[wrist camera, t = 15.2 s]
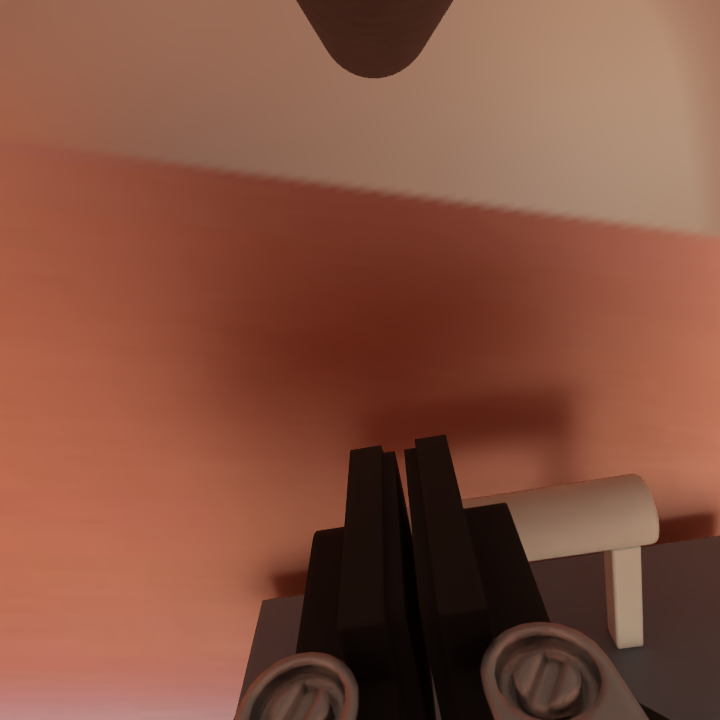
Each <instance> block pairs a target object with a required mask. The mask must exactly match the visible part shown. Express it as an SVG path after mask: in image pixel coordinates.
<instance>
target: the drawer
mask: <svg viewBox="0 0 720 720" xmlns="http://www.w3.org/2000/svg"><path fill="white" fill-rule="evenodd" d="M504 502H505V503H506V504H507V505H508V507H509V510H510V512H511V515H512V518H513V521H514V523H515V526H516V529H517V532H518V534H519V537H520V540H521V543H522V545H523V548H524V551H525V554H526V556H527V559H528V562H529V561H536V560H543V559H550V558H557V557H564V556H571V555H578V554H586V553H593V552H600V551H604V552H601V553H593V554H586V555H579V556H572V557H565V558H558V559H551V560H544V561H537V562H530V563H529V565H530V567H531V570H532V573H533V576H534V578H535V581H536V584H537V587H538V589H539V592H540V595H541V597H542V600H543V603H544V606H545V608H546V611H547V614H548V617H549V619H550V622H551V623H556V624H561V625H564V626H567V627H570V628H572V629H575V630H578V631H580V632H581V633H583V634H584V635H586V636H587V637H589V638H590V639H592V640H593V641H595V642H596V643H597V645H598V646H599V647H600V648H601V649H602V650H603V651H604V652H605V654H606V655H607V656H608V657H609V659H610V660H611V662H612V663H613V665H614V666H615V668H616V669H617V671H618V672H619V674H620V676H621V677H622V679H623V680H624V682H625V683H626V685H627V686H628V688H629V689H630V691H631V692H632V694H633V696H634V697H635V699H636V700H637V702H639V703H641V704H642V705H644V706H646V707H648V708H650V709H652V710H654V711H655V712H657V713H659V714H661V715H663V716H665V717H666V718H668V719H670V720H720V536H714V537H707V538H700V539H692V540H685V541H678V542H671V543H664V544H657V545H650V546H643V547H640V546H642V545H649V544H653V543H655V542H656V541H657V540H658V537H659V519H658V514H657V510H656V506H655V503H654V500H653V497H652V495H651V493H650V490H649V489H648V487H647V485H646V483H645V482H644V480H643V479H642V478H641V477H640V476H638V475H636V474H628V475H621V476H615V477H608V478H602V479H595V480H589V481H582V482H576V483H569V484H563V485H556V486H549V487H543V488H536V489H530V490H523V491H517V492H510V493H504V494H497V495H491V496H484V497H478V498H471V499H465V500H462V504H463V509H465V508H471V507H478V506H485V505H491V504H498V503H504ZM407 513H408V518H409V523H410V527H411V517H410V508H407ZM411 532H412V527H411ZM304 595H305V594H303V595H296V596H289V597H282V598H275V599H268V600H263V601H262V605H261V609H260V614H259V618H258V622H257V626H256V630H255V635H254V639H253V643H252V647H251V652H250V656H249V660H248V664H247V669H246V673H245V677H244V681H243V686H242V690H241V694H240V698H239V703H238V707H239V704H240V702H241V700H242V699H243V697H244V695H245V693H246V691H247V689H248V688H249V686H250V685H251V684H252V683H253V682H254V681H255V679H256V678H257V677H258V676H259V675H260V674H261V673H262V672H263V671H264V670H266V669H267V668H269V667H270V666H272V665H273V664H275V663H276V662H277V661H279V660H282V659H284V658H287V657H289V656H292V655H294V654H296V647H297V640H298V634H299V627H300V621H301V614H302V608H303V601H304ZM431 673H432V672H431ZM432 682H433V692H434V701H435V710H436V720H441V715H440V710H439V705H438V700H437V696H436V691H435V686H434V681H433V677H432ZM238 707H237V710H238ZM236 712H237V711H236Z"/></svg>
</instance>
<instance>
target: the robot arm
mask: <svg viewBox="0 0 720 720" xmlns="http://www.w3.org/2000/svg"><path fill="white" fill-rule="evenodd" d="M415 444H416V448H411V449H405V450H404V454H405V465H406V475H407V485H408V496H409V506H410V517H411V527H412V532H411V527H410V523H409V518H408V513H407V508H406V503H405V498H404V493H403V488H402V483H401V478H400V473H399V468H398V463H397V459H396V454H395V451H393V452H386V453H384V452H383V448H382V446H381V445H378V446H372V447H366V448H360V449H354V450H351V451H350V461H349V474H348V487H347V500H346V513H345V526H344V527H340V528H334V529H327V530H320V531H316V532H315V534H314V537H313V543H312V549H311V556H310V562H309V569H308V575H307V582H306V588H305V595H304V601H303V608H302V614H301V621H300V627H299V634H298V640H297V647H296V654H294V655H292V656H289V657H287V658H284V659H282V660H279V661H277V662H276V663H275V664H273V665H272V666H270V667H269V668H267V669H266V670H264V671H263V672H262V673H261V674H260V675H259V676H258V677H257V678H256V679H255V681H254V682H253V683H252V684H251V685H250V686H249V688H248V689H247V691H246V693H245V695H244V697H243V699H242V700H241V702H240V704H239V707H238V710H237V712H236V715H235V717H234V720H436V710H435V701H434V692H433V682H432V677H433V681H434V686H435V691H436V696H437V700H438V705H439V710H440V715H441V720H670V719H668V718H666V717H665V716H663V715H661V714H659V713H657V712H655V711H654V710H652V709H650V708H648V707H646V706H644V705H642V704H641V703H639V702H637V700H636V699H635V697H634V696H633V694H632V692H631V691H630V689H629V688H628V686H627V685H626V683H625V682H624V680H623V679H622V677H621V676H620V674H619V672H618V671H617V669H616V668H615V666H614V665H613V663H612V662H611V660H610V659H609V657H608V656H607V655H606V654H605V652H604V651H603V650H602V649H601V648H600V647H599V646H598V645H597V643H596V642H595V641H593V640H592V639H590V638H589V637H587V636H586V635H584V634H583V633H581V632H580V631H578V630H575V629H572V628H570V627H567V626H564V625H561V624H556V623H551V622H550V619H549V617H548V614H547V611H546V608H545V606H544V603H543V600H542V597H541V595H540V592H539V589H538V587H537V584H536V581H535V578H534V576H533V573H532V570H531V567H530V565H529V562H528V559H527V556H526V554H525V551H524V548H523V545H522V543H521V540H520V537H519V534H518V532H517V529H516V526H515V523H514V521H513V518H512V515H511V512H510V510H509V507H508V505H507V504H506V503H505V502H504V503H498V504H491V505H485V506H478V507H471V508H465V509H463V504H462V500H461V496H460V492H459V488H458V484H457V480H456V475H455V471H454V467H453V463H452V459H451V455H450V451H449V446H448V442H447V438H446V435H439V436H433V437H427V438H421V439H415ZM431 672H432V673H431Z"/></svg>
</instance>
